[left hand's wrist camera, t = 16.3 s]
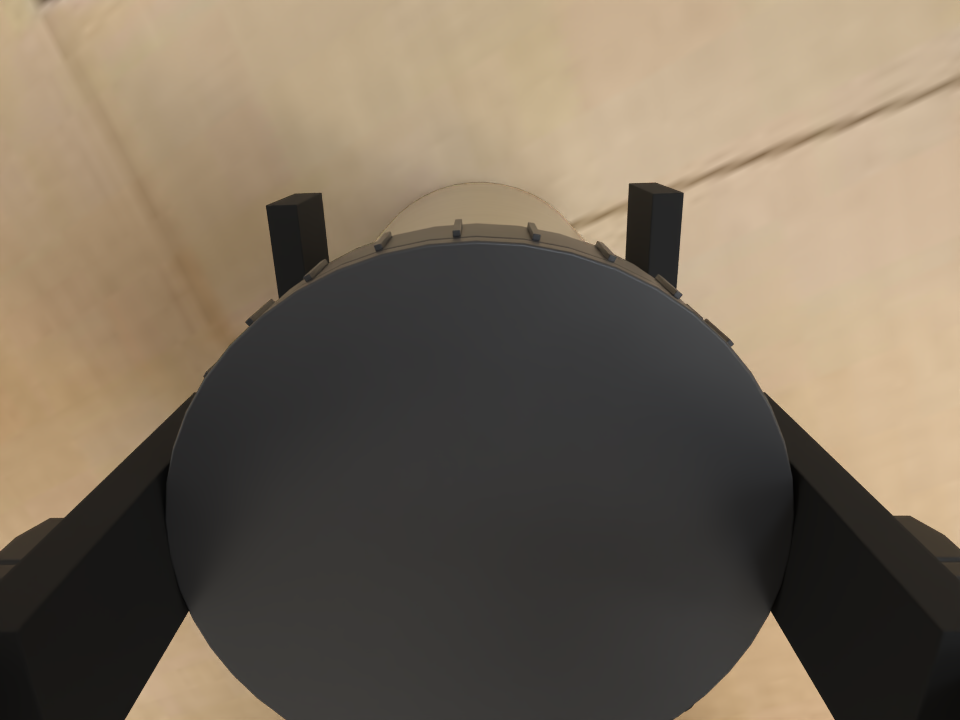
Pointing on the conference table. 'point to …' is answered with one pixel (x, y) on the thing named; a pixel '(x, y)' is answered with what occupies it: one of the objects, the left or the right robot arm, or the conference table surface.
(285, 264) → the right robot arm
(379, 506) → the lid
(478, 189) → the jar
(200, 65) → the conference table surface
